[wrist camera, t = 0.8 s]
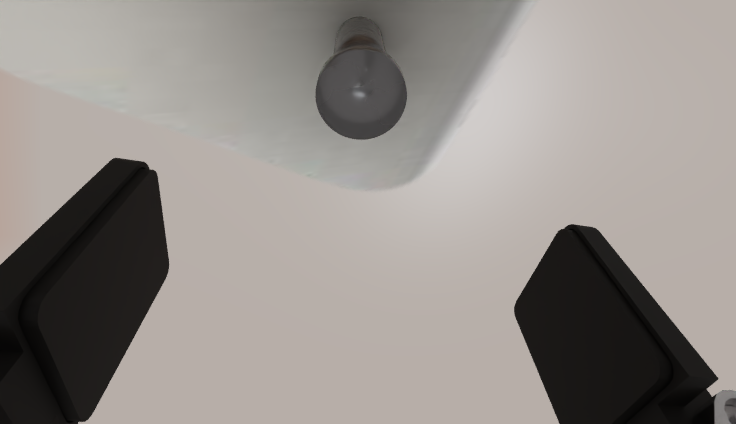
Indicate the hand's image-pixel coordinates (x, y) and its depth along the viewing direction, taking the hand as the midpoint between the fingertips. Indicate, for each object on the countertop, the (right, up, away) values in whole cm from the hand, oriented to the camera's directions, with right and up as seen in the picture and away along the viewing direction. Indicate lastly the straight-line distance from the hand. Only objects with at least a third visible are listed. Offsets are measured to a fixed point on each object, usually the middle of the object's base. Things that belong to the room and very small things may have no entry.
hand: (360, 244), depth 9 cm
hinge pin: (0, +12, +16) cm, 20 cm away
